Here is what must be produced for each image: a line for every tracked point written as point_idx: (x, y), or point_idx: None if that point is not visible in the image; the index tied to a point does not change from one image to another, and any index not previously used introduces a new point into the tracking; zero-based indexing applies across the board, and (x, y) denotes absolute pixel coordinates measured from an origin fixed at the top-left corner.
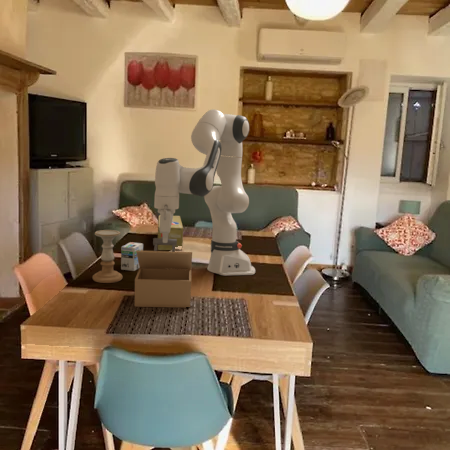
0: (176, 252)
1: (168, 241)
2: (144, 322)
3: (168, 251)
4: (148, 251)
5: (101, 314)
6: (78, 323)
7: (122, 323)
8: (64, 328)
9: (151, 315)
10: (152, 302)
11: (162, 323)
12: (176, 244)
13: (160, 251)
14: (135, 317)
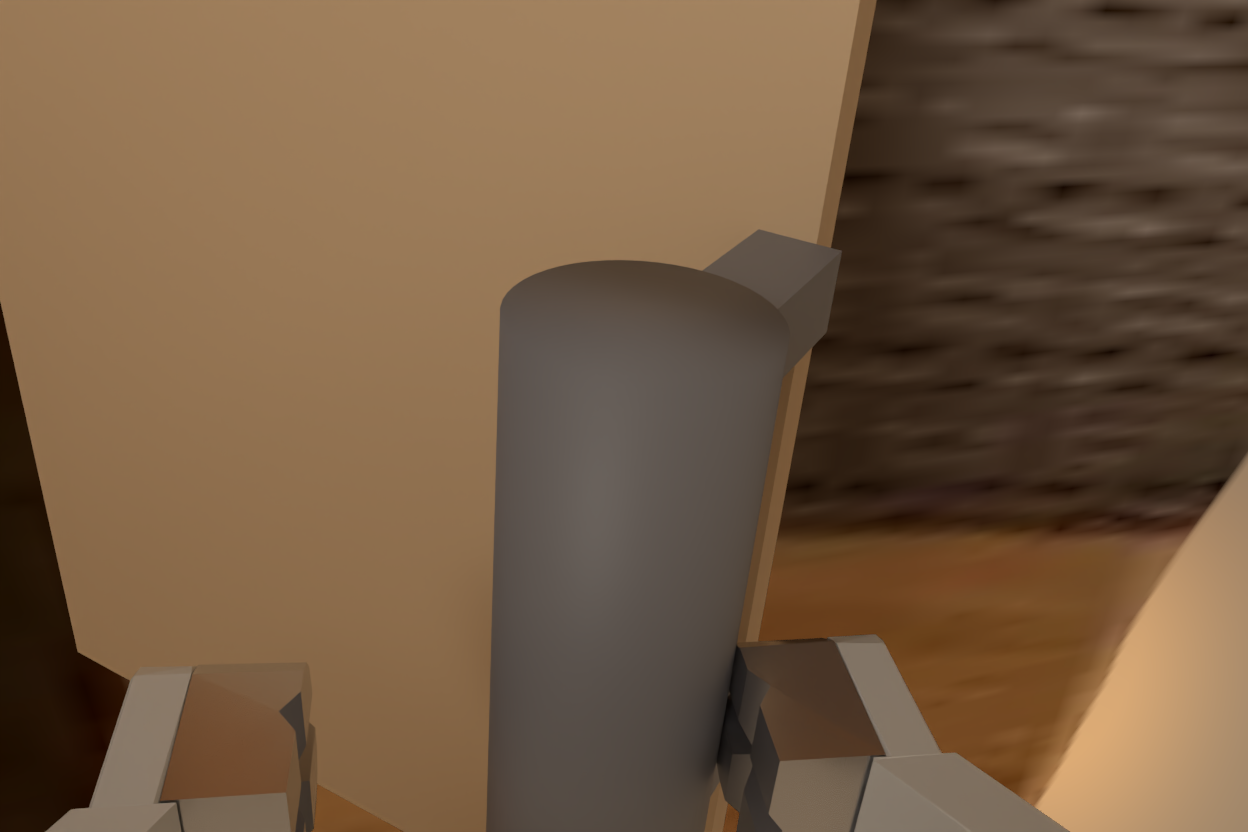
0: (837, 182)
1: (740, 615)
2: (1094, 271)
3: (788, 417)
4: (724, 805)
5: (837, 629)
6: (990, 723)
7: (1067, 449)
8: (1056, 771)
9: (932, 216)
10: None
11: (1168, 90)
12: (745, 287)
13: (753, 595)
14: (955, 363)
